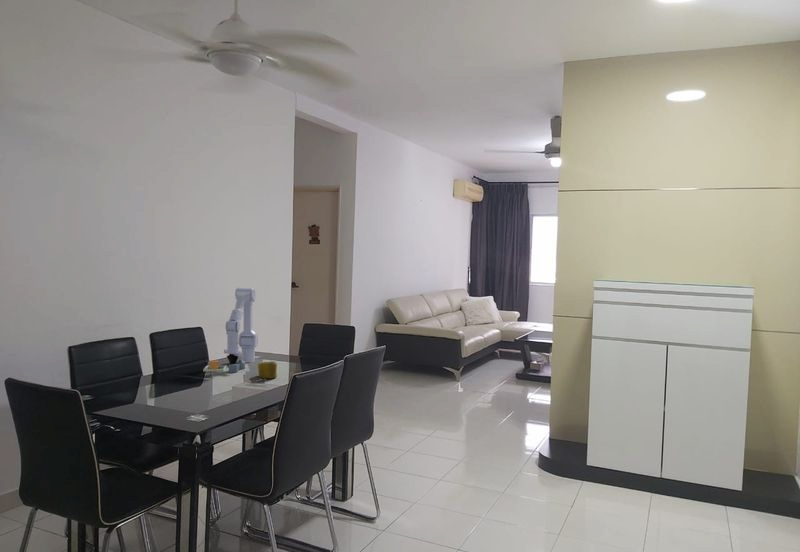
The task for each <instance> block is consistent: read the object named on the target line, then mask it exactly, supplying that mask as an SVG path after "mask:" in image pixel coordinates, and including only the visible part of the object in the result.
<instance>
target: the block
mask: <svg viewBox="0 0 800 552" xmlns="http://www.w3.org/2000/svg"><path fill="white" fill-rule="evenodd" d="M219 363H220V362H219V360H218V359H216V360H215V359H213V360H212V359H211V360H210V361H209V366H210V368H209V369H219V366H220V364H219Z"/></svg>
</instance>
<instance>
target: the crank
mask: <svg viewBox="0 0 800 552" xmlns="http://www.w3.org/2000/svg"><path fill="white" fill-rule="evenodd" d="M245 369H246V363H245V361H242V359H238V360H237V361H236V364H230V363H229V364H228V372H229V373H239V370H245Z"/></svg>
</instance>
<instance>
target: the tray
mask: <svg viewBox="0 0 800 552" xmlns="http://www.w3.org/2000/svg"><path fill="white" fill-rule="evenodd" d="M227 367H228V365H227V364H226V365H220V364H219V368H220V369H210V365H206V366H205V367H204V368H203V369H202V370H203V371H202V372H225V370H226V369H227Z"/></svg>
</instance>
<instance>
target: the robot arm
mask: <svg viewBox="0 0 800 552" xmlns="http://www.w3.org/2000/svg"><path fill="white" fill-rule="evenodd" d="M234 296H235V300H236V302H235V305H234V306H235V307H234V309H232V311H231V313H230V317H229V320H227V321H226V323H225V330H226V335H227V336H226V337H227V343H226V345H227V347H226V349H223V354H227V355H226V358H227V360H228V362H229V365H230V364H236V361H238V360H239V358H241V360H242V361H245V364H246V363H254V362H255V360H256V359H255V356H256V354H255V352H256V350H255V349H256V347H257V346H258V343H259V340H258V334H257V332H256V331H254V330H253V302H255V301H256V291H255V288H253V287H236V288H235V292H234ZM242 310H243V311H242ZM242 316H243V331H241V332H240V330H241V324H242V323H241V320H242ZM239 332H240V333H239ZM239 347H240V349H241V351H240V350H239Z"/></svg>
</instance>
